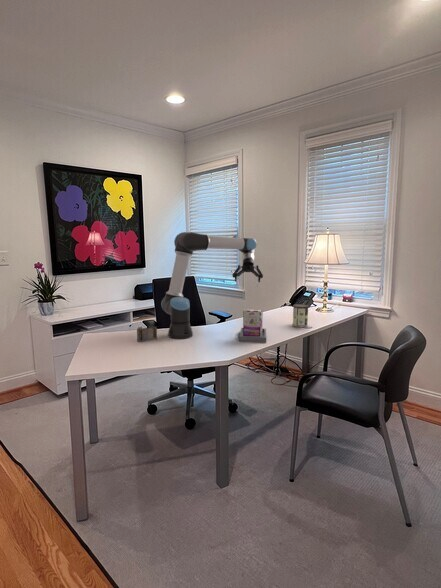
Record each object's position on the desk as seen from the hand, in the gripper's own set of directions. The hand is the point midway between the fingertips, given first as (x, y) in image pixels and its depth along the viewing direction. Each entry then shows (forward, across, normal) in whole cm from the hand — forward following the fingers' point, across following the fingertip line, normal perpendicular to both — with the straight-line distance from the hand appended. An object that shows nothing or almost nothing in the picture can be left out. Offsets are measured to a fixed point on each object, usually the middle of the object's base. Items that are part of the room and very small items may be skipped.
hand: (247, 285), depth 231 cm
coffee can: (+10, -37, -32) cm, 50 cm away
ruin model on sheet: (+46, +57, +2) cm, 73 cm away
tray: (+34, -5, -8) cm, 35 cm away
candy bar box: (+34, -5, -7) cm, 35 cm away
